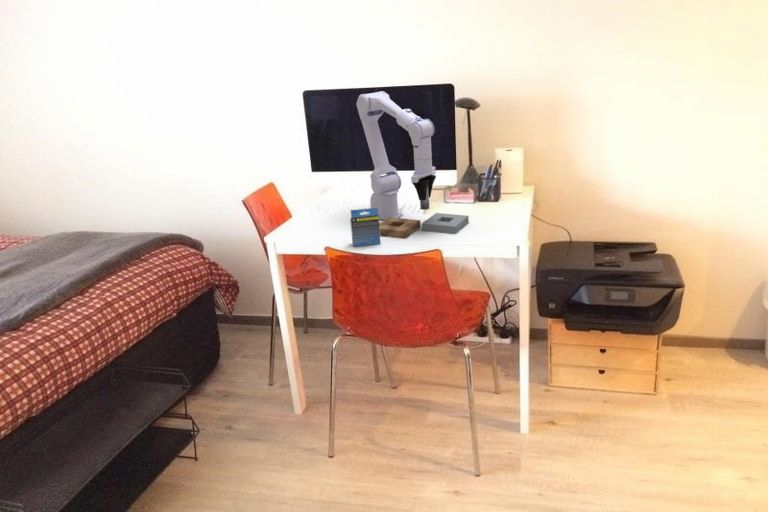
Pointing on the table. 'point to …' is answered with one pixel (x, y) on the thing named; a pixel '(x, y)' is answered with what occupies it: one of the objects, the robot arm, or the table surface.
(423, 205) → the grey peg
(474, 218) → the table surface
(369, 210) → the label tape box
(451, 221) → the block
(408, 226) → the socket block
